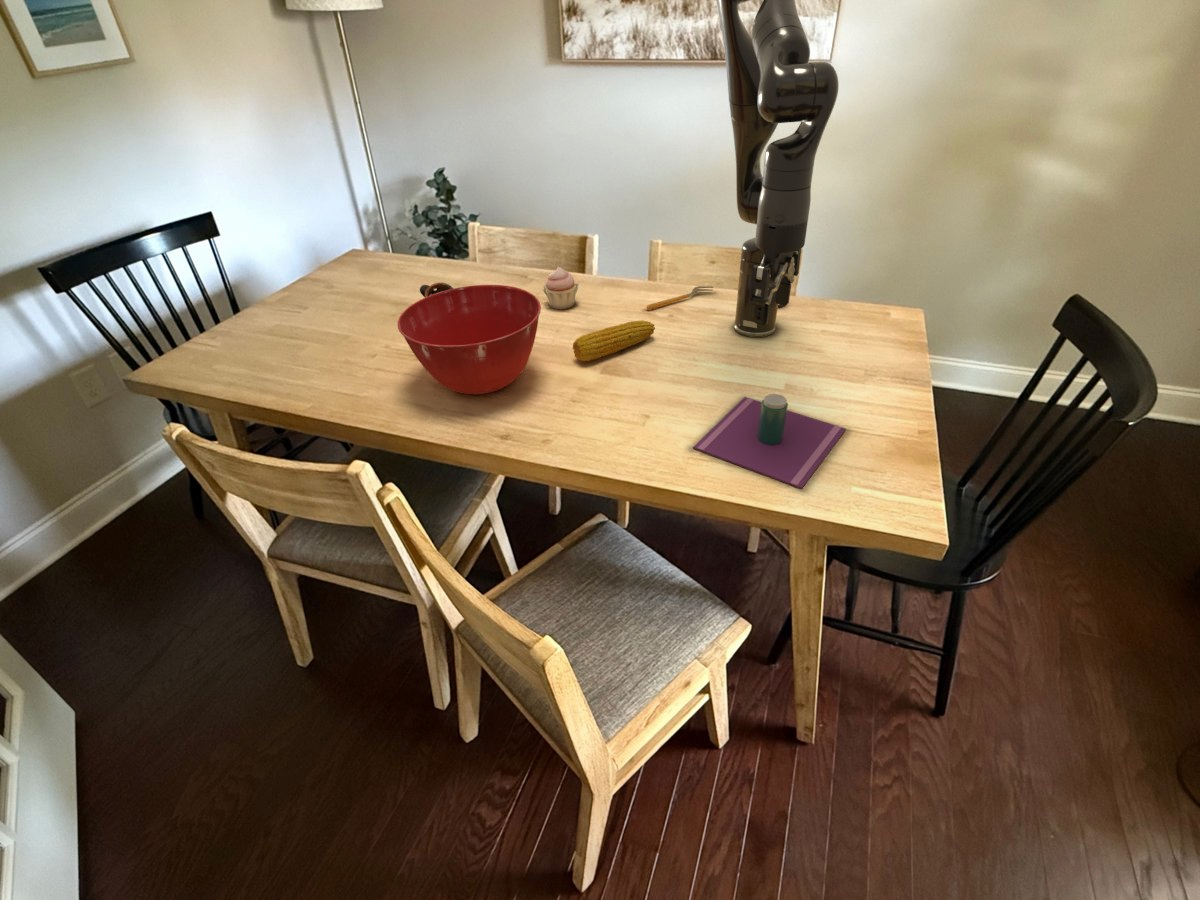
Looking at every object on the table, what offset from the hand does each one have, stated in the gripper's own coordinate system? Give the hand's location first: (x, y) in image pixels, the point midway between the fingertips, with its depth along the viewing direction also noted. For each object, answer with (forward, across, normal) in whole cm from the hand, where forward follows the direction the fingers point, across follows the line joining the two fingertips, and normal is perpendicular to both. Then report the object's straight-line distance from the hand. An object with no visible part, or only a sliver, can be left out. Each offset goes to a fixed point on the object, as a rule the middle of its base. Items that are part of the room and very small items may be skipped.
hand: (771, 313), depth 107 cm
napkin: (+21, +5, +4) cm, 22 cm away
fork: (+22, -39, -40) cm, 60 cm away
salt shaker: (+21, +6, +4) cm, 22 cm away
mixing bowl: (+21, +17, -56) cm, 62 cm away
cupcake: (+22, -22, -65) cm, 72 cm away
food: (+22, -8, -39) cm, 45 cm away
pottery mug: (+21, -4, -90) cm, 93 cm away
